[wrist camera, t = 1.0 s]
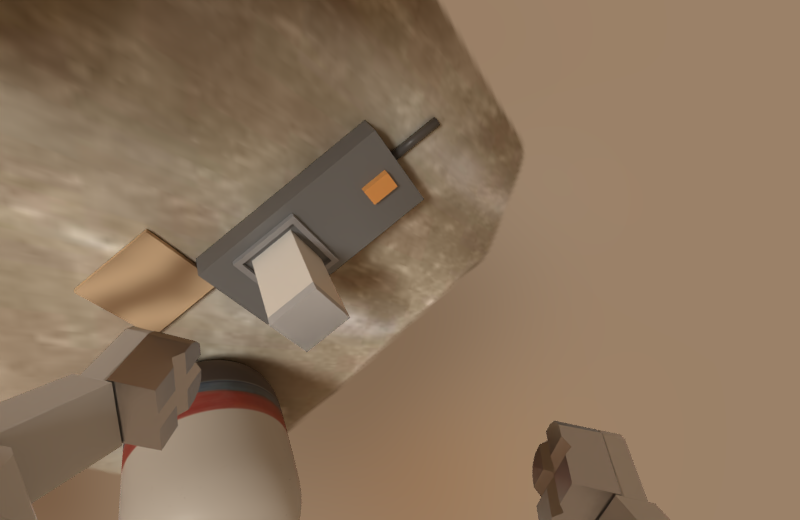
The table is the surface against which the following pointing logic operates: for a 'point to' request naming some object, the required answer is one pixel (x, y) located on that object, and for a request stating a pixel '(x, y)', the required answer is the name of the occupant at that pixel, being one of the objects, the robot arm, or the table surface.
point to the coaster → (145, 283)
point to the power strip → (319, 212)
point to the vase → (217, 457)
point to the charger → (298, 292)
